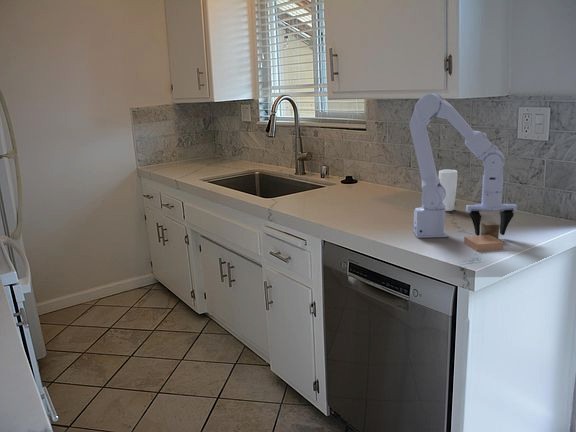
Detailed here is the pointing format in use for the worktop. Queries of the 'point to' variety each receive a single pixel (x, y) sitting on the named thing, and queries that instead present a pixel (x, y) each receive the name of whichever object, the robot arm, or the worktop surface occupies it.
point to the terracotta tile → (483, 242)
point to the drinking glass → (449, 187)
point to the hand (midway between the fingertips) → (489, 234)
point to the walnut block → (490, 229)
